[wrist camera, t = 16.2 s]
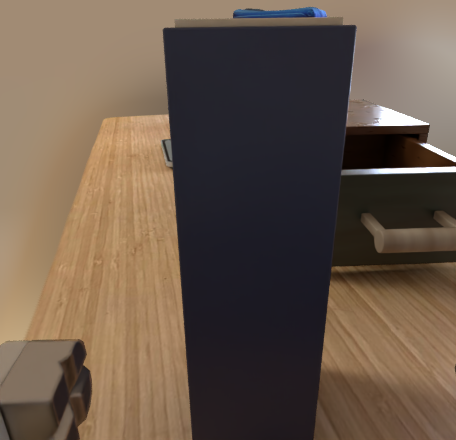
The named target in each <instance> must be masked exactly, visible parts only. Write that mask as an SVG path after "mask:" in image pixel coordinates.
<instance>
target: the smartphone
mask: <svg viewBox="0 0 456 440" xmlns="http://www.w3.org/2000/svg"><path fill="white" fill-rule="evenodd" d="M161 147H162V150H163V154H164V159H165V162H166V165H167V166H168V167H173V165H172V151H171V139H165V140H161Z"/></svg>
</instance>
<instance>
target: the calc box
mask: <svg viewBox="0 0 456 440" xmlns="http://www.w3.org/2000/svg"><path fill="white" fill-rule="evenodd" d="M356 29H357V27H356V26H355V25H343V17H311V18H236V19H175V28H164V29H163V40H164V54H165V68H166V82H167V96H168V110H169V123H170V137H171V151H172V165H173V179H174V192H175V206H176V220H177V234H178V248H179V261H180V275H181V289H182V303H183V317H184V330H185V344H186V358H187V372H188V386H189V399H190V413H191V427H192V440H313V438H314V428H315V419H316V409H317V400H318V390H319V381H320V371H321V362H322V352H323V343H324V333H325V324H326V314H327V305H328V295H329V286H330V276H331V267H332V257H333V248H334V238H335V229H336V219H337V210H338V200H339V191H340V181H341V172H342V162H343V153H344V143H345V134H346V124H347V115H348V105H349V96H350V86H351V76H352V67H353V58H354V48H355V39H356V38H355V37H356Z"/></svg>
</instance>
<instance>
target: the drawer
mask: <svg viewBox="0 0 456 440" xmlns="http://www.w3.org/2000/svg"><path fill="white" fill-rule="evenodd" d="M445 262H456V157H453V156H451V155H449V154H447V153H445V152H443V151H441V150H439V149H436V148H434V147H432V146H430V145H428V144H426V143H424V142H422V141H420V140H417V139H415V138H413V137H411V136H409V135H407V134H387V135H345V143H344V153H343V162H342V172H341V181H340V191H339V200H338V210H337V219H336V229H335V238H334V248H333V257H332V267H333V266H361V265H389V264H417V263H445Z"/></svg>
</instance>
